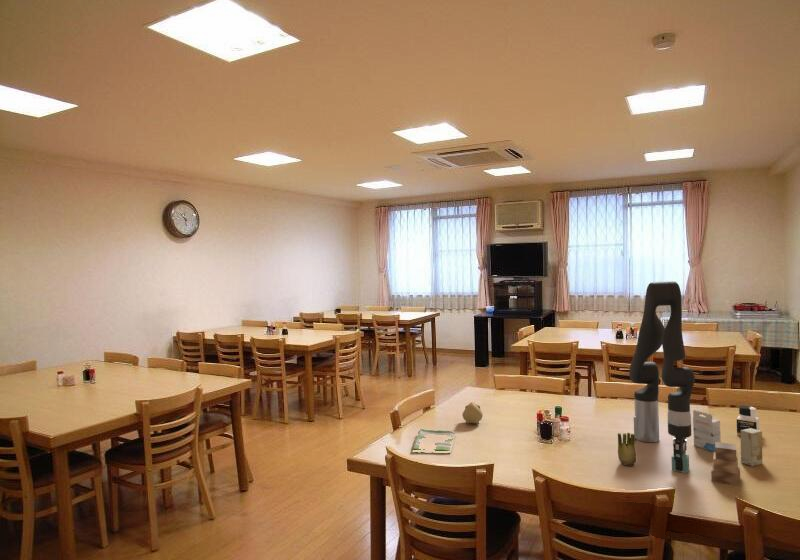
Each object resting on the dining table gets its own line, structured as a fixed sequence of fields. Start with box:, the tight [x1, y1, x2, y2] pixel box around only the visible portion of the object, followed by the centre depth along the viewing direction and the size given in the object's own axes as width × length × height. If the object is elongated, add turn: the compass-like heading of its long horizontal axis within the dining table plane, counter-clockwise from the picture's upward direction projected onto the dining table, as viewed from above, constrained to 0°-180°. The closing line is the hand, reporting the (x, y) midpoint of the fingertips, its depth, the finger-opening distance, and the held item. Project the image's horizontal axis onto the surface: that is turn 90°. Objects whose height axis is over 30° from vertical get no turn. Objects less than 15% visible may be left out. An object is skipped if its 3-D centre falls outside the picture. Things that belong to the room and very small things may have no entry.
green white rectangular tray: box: [412, 428, 456, 451], centre depth 219 cm, size 17×23×4 cm
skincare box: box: [740, 428, 763, 467], centre depth 186 cm, size 6×4×12 cm
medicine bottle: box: [736, 405, 760, 436], centre depth 216 cm, size 7×7×12 cm
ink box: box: [692, 409, 722, 452], centre depth 203 cm, size 9×5×15 cm, turn 23°
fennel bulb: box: [617, 432, 637, 467], centre depth 189 cm, size 6×5×12 cm
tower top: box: [714, 442, 738, 462], centre depth 173 cm, size 6×6×4 cm
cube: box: [671, 452, 690, 474], centre depth 183 cm, size 5×5×5 cm
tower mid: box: [712, 451, 739, 474], centre depth 173 cm, size 7×7×4 cm
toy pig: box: [462, 402, 484, 424], centre depth 246 cm, size 10×12×11 cm
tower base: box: [710, 464, 741, 487], centre depth 173 cm, size 8×8×4 cm
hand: (680, 467), depth 183 cm, fingers open, 6 cm apart
